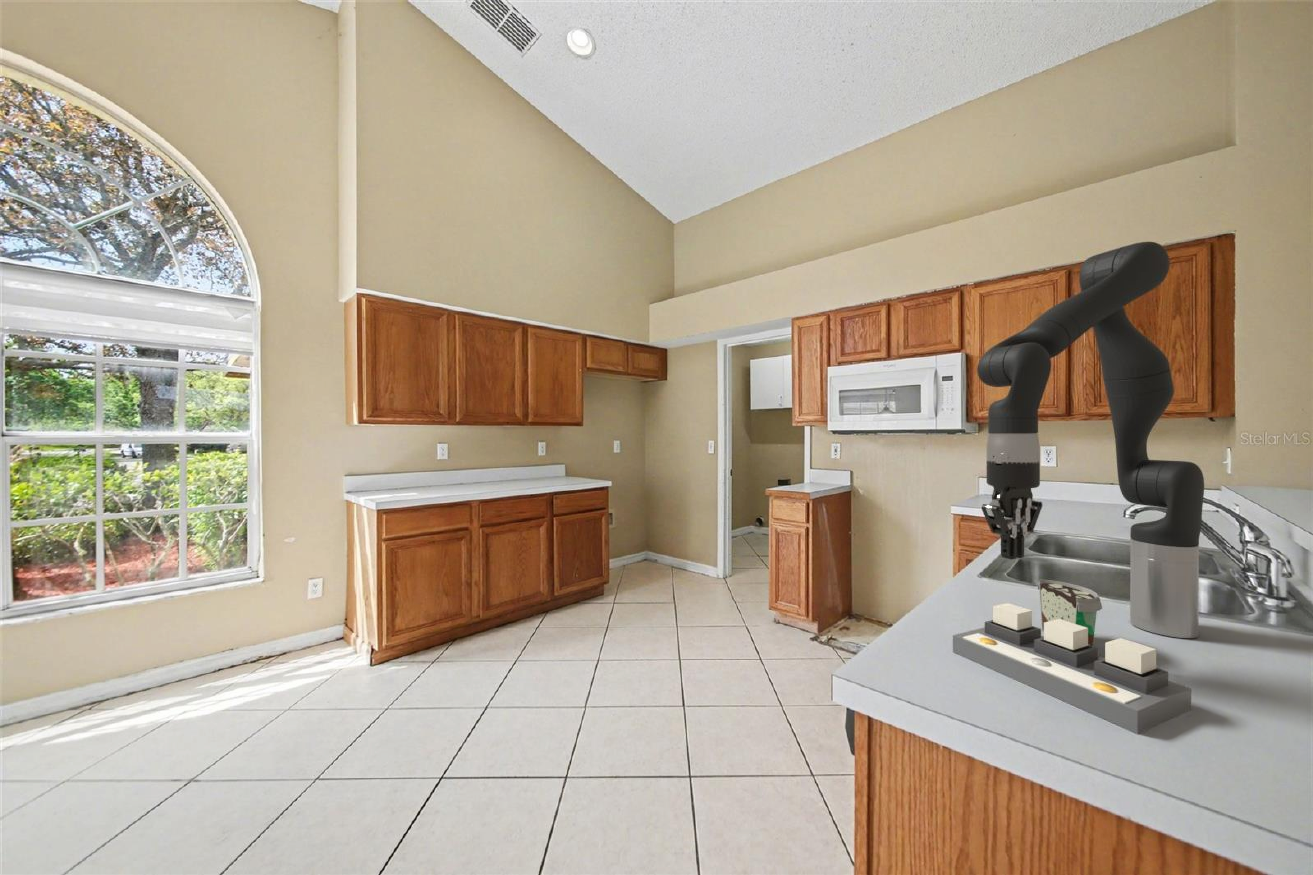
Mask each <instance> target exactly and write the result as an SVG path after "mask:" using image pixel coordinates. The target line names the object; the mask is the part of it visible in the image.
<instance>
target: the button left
mask: <svg viewBox="0 0 1313 875" xmlns="http://www.w3.org/2000/svg"><path fill="white" fill-rule="evenodd" d="M992 620H993V622H995V623H998V624H1001V625H1003V626H1006V627H1009V628H1012V629H1015V630H1021V629H1025V628H1029V627H1032V626H1033V610H1032V609H1028V608H1024V607H1021V606H1019V605H1015V604H1012V603H1008V602H1006V603H1002V604H997V605H993V606H992Z"/></svg>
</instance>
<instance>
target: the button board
mask: <svg viewBox="0 0 1313 875" xmlns="http://www.w3.org/2000/svg"><path fill="white" fill-rule="evenodd" d="M952 652H953V653H954V654H956V655H959V656H961V657H963V658H966V659H967V660H970V661H972V662H974V663H976V664H979V665H981V666H983V667H986V668H988V669H990V670H993V671H994V672H997V673H999V674H1001V675H1004V676H1006V677H1008V678H1011V679H1013V680H1015V681H1016V682H1019V683H1021V684H1024V685H1026V686H1028V687H1031V688H1032V689H1035V690H1037V691H1040V692H1042V693H1043V694H1044V693H1045V694H1047V695H1049V696H1051V697H1053V698H1056V699H1058V700H1061V701H1062V702H1065V703H1067V704H1070V705H1071V706H1074V707H1075V708H1078V709H1080V710H1082V711H1085V712H1087V713H1089V714H1091V715H1094V716H1096V717H1097V718H1100V719H1102V720H1105V721H1107V722H1110V723H1112V724H1114V725H1117V726H1118V727H1121V728H1123V729H1125V730H1128V731H1129V732H1132V733H1134V734H1136V735H1138V734H1141V733H1143V732H1145V731H1147V730H1150V729H1151V728H1154V727H1156V726H1158V725H1160V724H1162V723H1164V722H1167V721H1169V720H1171V719H1173V718H1176V717H1178V716H1180V715H1183V714H1184V713H1186V712H1189V711H1191V710H1192V688H1191V687H1189V686H1187V685H1184V684H1181V683H1177V682H1174V681H1173V680H1169V671H1167V670H1164V669H1162V668H1159V667H1156V669H1154V670H1151V671H1148V672H1146V673H1143V674H1139V673H1136V672H1133V671H1131V670H1128V669H1125V668H1122V667H1119V666H1116V665H1114V664H1111V663H1108V662H1105V657H1102V656H1099V648H1098V647H1095V646H1090V645H1088V646H1085V647H1082V648H1078V649H1075V650H1071V649H1068V648H1066V647H1063V646H1060V645H1057V644H1054V643H1052V642H1049V641H1046V640H1044V635H1042V628H1040V627H1036V626H1034V625H1032V627H1029V628H1025V629H1021V630H1015V629H1012V628H1009V627H1006V626H1003V625H1001V624H998V623H995V622H993V619H992V620H987V621H985V622H984V627H981V628H977V629H973V630H969V631H965V632H961V633H956V634H953V635H952Z"/></svg>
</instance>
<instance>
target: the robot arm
mask: <svg viewBox="0 0 1313 875" xmlns="http://www.w3.org/2000/svg"><path fill="white" fill-rule="evenodd" d="M1170 263H1171V262H1170V256H1169V253H1168V251H1167V249H1165V248H1164V246H1163V245H1161V244H1160V243H1158V242H1154V241H1141V242H1136V243H1132V244H1128V245H1124V246H1121V247H1119V248H1114V249H1111V250H1108V251H1104V252H1101V253H1098V254H1094V255H1092V256H1090V257H1088V258H1086V260H1084V262H1083V263H1082V264H1081V267H1080V270H1079V276H1078V277H1079V279H1078V280H1079V287H1080V292H1079V293H1077V294H1075V295H1073V296H1070V297H1069V298H1066V299H1064V300H1063V301H1061V302H1059V303H1058V304H1056V305H1054V306H1052V307H1051V308H1049V309H1047V310H1046V311H1045V312H1043V313H1042V314H1041V315H1040V316H1038V317H1037V318H1036V319H1035V320H1033V321H1032V322H1030V324H1028V326H1026V327H1025V329H1023V330H1021V331H1019V332H1016V333H1015V334H1013V335H1011V336H1009V337H1008V338H1006V339H1004V340H1002V341H1001V342H999V343H997V344H995V345H993V346H992V347H991V348H989V349H988V350H987V351H985V352H984V354H983V355H982V356H981V357H980V360H978V364H977V370H976V372H977V376H978V378H979V380H980V381H981V382H982V383H983V384H985V385H986V386H989V387H994V388H1002V387H1003V388H1005V387H1010V388H1009V391H1008V393H1007V395H1006V396H1005V397H1004V398H1001V399H999V400H998V399H997V400H995V401H993V402H992V403H991V404H990V405H989V407H988V410H987V411H988V413H987V414H988V415H987V418H988V419H987V420H988V422H987V424H988V425H987V426H988V427H987V429H988V430H987V433H988V435H987V441H986V484H987V485H988V486H991V487H992V488H993V490H992V494H991V501H990V502H989V503H988V504H987V503H986V504H985V503H984V504H982V505H981V511H982V513H983V515H984V517H985V520H986V522H987V525H988V527H989V529H990V530H989V531H991V533H993V534H996V535H998V536H999V537H1000V556H1001V557H1002V558H1003V559H1008V560H1016V559H1023V558H1024V557H1025V537H1027V536H1028V533H1033V532H1034V530H1035V527H1036V525H1037V521H1038V520H1039V516H1040V514H1041V511H1042V508H1043V502H1042V501H1037V500H1034V498H1033V497H1034V496H1033V492H1032V489H1036V488H1038V487H1040V485H1041V464H1040V463H1041V448H1040V446H1041V444H1040V441H1039V434H1038V433H1039V414H1038V413H1039V408H1040V405H1041V402H1042V399H1043V396H1044V393H1045V390H1046V387H1047V385H1048V382H1049V379H1050V375H1051V371H1052V360H1051V359H1053V358H1055V357H1056V356H1059V355H1060V354H1061V353H1063V352H1064V351H1066V349H1068V347H1070V346H1071V345H1072V344H1073V343H1075V341H1077V340H1078V339H1079V338H1080V337H1082V336H1083V335H1084V334H1085V333H1086V332H1088V331H1089V330H1090V329H1092V331H1093V334H1094V337H1095V341H1096V347H1097V350H1098V354H1099V360H1100V365H1101V372H1102V378H1103V384H1104V388H1105V389H1104V390H1105V394H1106V399H1107V402H1108V406H1109V407H1108V408H1109V411H1110V416H1111V420H1112V425H1113V432H1114V439H1115V440H1114V443H1115V452H1116V453H1115V455H1116V456H1115V458H1116V467H1117V469H1116V470H1117V479H1118V480H1117V481H1118V486H1119V489H1120V492H1121V495H1122V497H1123V499H1125V500H1126V501H1127V502H1128V503H1130V504H1134V505H1141V506H1149V507H1157V508H1158V507H1159V508H1166V512H1165V514H1164V516H1163V517H1162V518H1160V519H1156V520H1152V521H1146V522H1144V521H1143V522H1138V523H1134V524H1132V525H1131V526H1130V538H1129V539H1130V547H1129V548H1130V550H1129V551H1130V554H1129V556H1130V558H1129V559H1130V569H1129V571H1130V574H1129V575H1130V580H1129V581H1130V586H1129V587H1130V588H1129V591H1130V592H1129V594H1130V600H1129V601H1130V603H1129V604H1130V605H1129V609H1130V610H1129V614H1130V615H1129V616H1130V617H1129V622H1130V624H1131V625H1133V626H1134V627H1137V628H1138V629H1141V630H1144V631H1147V632H1150V633H1153V634H1156V635H1161V636H1166V637H1170V638H1171V637H1173V638H1180V639H1195V638H1198V636H1199V620H1200V619H1199V616H1200V614H1199V612H1200V610H1199V605H1200V604H1199V598H1200V596H1199V594H1200V592H1199V590H1200V588H1199V587H1200V585H1199V584H1200V583H1199V580H1200V579H1199V578H1200V575H1199V574H1200V567H1199V566H1200V561H1199V557H1200V556H1199V554H1200V552H1199V551H1200V550H1199V549H1200V535H1201V531H1202V525H1203V524H1202V521H1203V504H1204V494H1205V478H1204V473H1203V471H1202V469H1201V467H1200V466H1199V465H1197V464H1196V463H1194V462H1192V461H1187V460H1186V461H1184V460H1182V461H1181V460H1166V459H1165V460H1164V459H1162V460H1161V459H1149V457H1148V450H1147V448H1148V446H1147V445H1148V438H1149V435H1150V434H1151V432H1152V430H1153V428H1154V426H1155V425H1156V423H1157V422H1158V421H1159V419H1160V418H1161V417H1162V415H1163V414H1164V413H1165V411H1166V410H1167V409H1168V406H1169V405H1170V404H1171V402H1172V399H1173V397H1174V394H1175V393H1174V392H1175V388H1174V381H1173V377H1172V376H1173V375H1172V370H1171V366H1170V361H1169V359H1168V358H1167V356H1166V354H1165V353H1164V352H1163V350H1162V349H1160V348H1159V347H1158V346H1157V345H1156V344H1155V343H1153V342H1152V341H1151V340H1150V339H1149V338H1148V337H1146V335H1144V334H1143V333H1142V332H1140V331H1139V330H1138V329H1137V328H1136V327H1135V326H1134V325H1133V322H1131V321H1130V319H1129V317H1128V315H1127V312H1126V309H1125V306H1127V305H1129V304H1130V303H1132V302H1134V301H1136V300H1137V299H1140V298H1141V297H1143V296H1144V295H1146V294H1148V293H1149V292H1151V291H1153V290H1155V289H1156V288H1158V287H1159V286H1160V285H1161V284H1163V282H1164V280H1165V279H1166V278H1167V275H1168V273H1169V271H1170V265H1171V264H1170Z"/></svg>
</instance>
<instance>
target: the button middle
mask: <svg viewBox="0 0 1313 875" xmlns="http://www.w3.org/2000/svg"><path fill="white" fill-rule="evenodd" d="M1043 637H1044V640H1046V641H1049V642H1052V643H1054V644H1057V645H1060V646H1063V647H1066V648H1068V649H1071V650H1075V649H1078V648H1082V647H1085V646H1088V628H1086V627H1083V626H1080V625H1077V624H1074V623H1070V622H1067V621H1064V620H1061V619H1056V620H1052V621H1049V622H1045V623H1044V633H1043Z"/></svg>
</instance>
